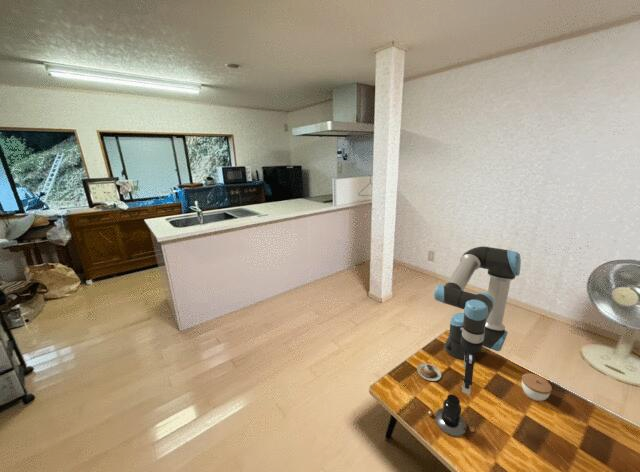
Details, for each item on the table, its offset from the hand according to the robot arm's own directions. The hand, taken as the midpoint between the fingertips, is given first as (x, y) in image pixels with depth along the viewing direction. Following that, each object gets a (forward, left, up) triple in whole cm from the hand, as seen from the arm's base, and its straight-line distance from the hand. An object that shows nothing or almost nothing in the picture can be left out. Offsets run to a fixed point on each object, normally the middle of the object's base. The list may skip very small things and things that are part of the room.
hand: (466, 380), depth 108 cm
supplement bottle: (+5, -4, -19) cm, 20 cm away
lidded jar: (-27, +30, -20) cm, 45 cm away
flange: (+5, -4, -20) cm, 21 cm away
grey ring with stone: (-20, -15, -21) cm, 32 cm away
